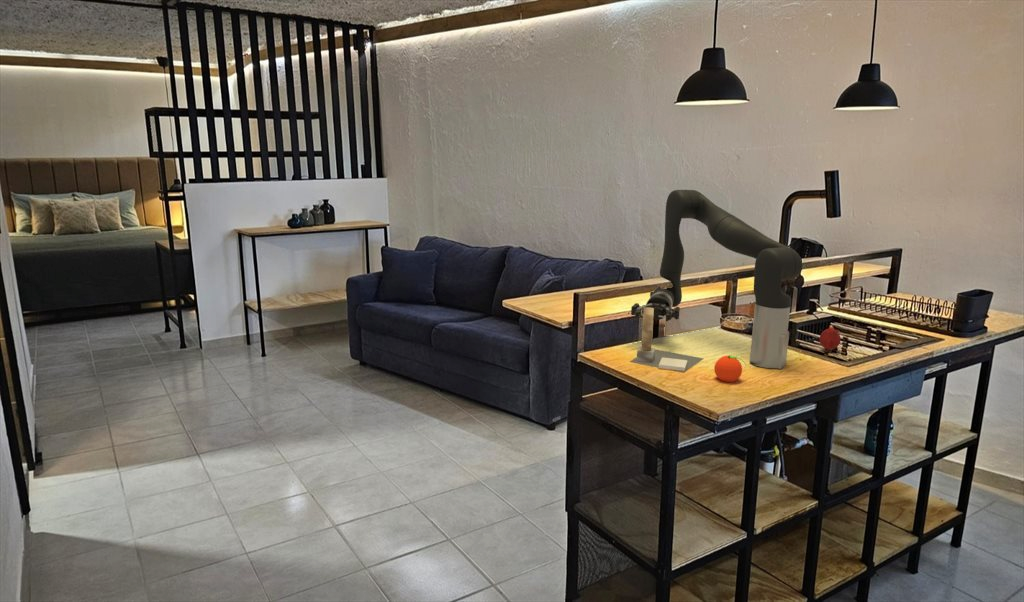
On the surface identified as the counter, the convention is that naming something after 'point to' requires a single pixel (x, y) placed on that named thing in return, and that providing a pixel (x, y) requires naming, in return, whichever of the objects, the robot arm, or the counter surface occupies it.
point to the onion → (830, 338)
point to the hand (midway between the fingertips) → (652, 316)
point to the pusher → (646, 337)
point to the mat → (659, 354)
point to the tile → (673, 364)
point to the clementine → (728, 368)
